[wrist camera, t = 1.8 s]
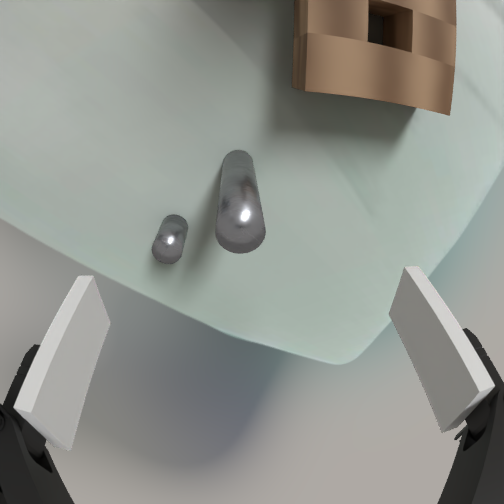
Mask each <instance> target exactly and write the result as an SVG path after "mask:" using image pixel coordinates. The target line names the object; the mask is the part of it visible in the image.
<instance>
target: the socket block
mask: <svg viewBox="0 0 504 504" xmlns="http://www.w3.org/2000/svg"><path fill="white" fill-rule="evenodd" d="M368 13H370V14H374V15H378V16H382V17H383V45H379V44H375V43H370V42H367V41H368ZM455 56H456V0H295V2H294V43H293V72H292V88H296V89H299V90H303V91H308V92H320V93H330V94H339V95H347V96H354V97H361V98H368V99H374V100H380V101H386V102H391V103H397V104H402V105H407V106H412V107H416V108H421V109H425V110H429V111H433V112H437V113H441V114H445V115H449V116H450V110H451V102H452V93H453V83H454V71H455Z"/></svg>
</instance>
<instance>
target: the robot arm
mask: <svg viewBox="0 0 504 504" xmlns="http://www.w3.org/2000/svg"><path fill="white" fill-rule="evenodd" d="M389 316H390V318H391V320H392V322H393V323H394V326H395V327H396V330H397V332H398V334H399V336H400V338H401V340H402V342H403V344H404V346H405V348H406V350H407V352H408V355H409V357H410V359H411V361H412V363H413V365H414V368H415V370H416V372H417V374H418V376H419V379H420V381H421V383H422V386H423V388H424V390H425V392H426V395H427V397H428V400H429V402H430V405H431V407H432V409H433V412H434V414H435V417H436V419H437V422H438V424H439V427H440V430H441V432H442V433H443V432H446V431H448V430H451V429H454V428H457V427H458V426H459V425H460V424H461V423H462V422H463V421H464V420H466V423H467V425H466V427H464V428H463V429H462V430H461V431H460V432H459V433H458V434H457V435H456V437H455V439H454V440H457V439H458V438H459V437H460V436H461V435H462V437H461V440H460V445H459V447H458V451H457V454H456V457H455V460H454V463H453V466H452V469H451V471H450V474H449V477H448V479H447V482H446V484H445V487H444V489H443V492H442V494H441V497H440V499H439V501H438V504H504V382H503V381H502V379H501V377H500V376H499V374H498V372H497V370H496V368H495V367H494V365H493V363H492V361H491V360H490V358H489V356H487V353H486V351H485V350H484V348H482V345H481V343H480V342H479V340H478V339H477V337H476V336H475V335H474V334H473V333H472V332H470V330H468V329H467V328H465V329H462V328H461V327H460V325H459V324H458V322H457V320H456V319H455V317H454V316H453V314H452V313H451V311H450V310H449V309H448V307H447V305H446V304H445V302H444V301H443V300H442V298H441V297H440V295H439V294H438V292H437V291H436V290H435V288H434V287H433V285H432V284H431V283H430V281H429V280H428V278H427V277H426V276H425V274H424V273H423V271H422V270H421V269H420V267H419V266H412V267H404V270H403V273H402V276H401V279H400V283H399V286H398V289H397V292H396V295H395V297H394V300H393V303H392V306H391V309H390V312H389ZM110 324H111V323H110V320H109V318H108V315H107V312H106V310H105V307H104V304H103V302H102V299H101V296H100V293H99V291H98V288H97V285H96V282H95V279H94V276H78V277H77V279H76V281H75V282H74V284H73V286H72V288H71V289H70V291H69V293H68V294H67V297H66V298H65V300H64V302H63V303H62V305H61V307H60V309H59V311H58V312H57V315H56V316H55V318H54V320H53V322H52V324H51V326H50V328H49V330H48V331H47V334H46V335H45V337H44V339H43V341H42V343H41V345H34V346H33V347H32V348H31V349H30V350H29V351H28V352H27V353H26V354H25V356H24V358H23V361H22V363H21V367H19V369H18V371H17V375H16V376H15V378H14V380H13V382H12V384H11V387H10V389H9V391H8V394H7V396H6V399H5V401H4V403H3V405H1V404H0V504H74V502H73V500H72V499H71V497H70V495H69V493H68V491H67V489H66V487H65V485H64V483H63V481H62V479H61V477H60V475H59V473H58V471H57V469H56V467H55V465H54V463H53V460H52V458H51V456H50V454H49V451H48V450H47V449H46V447H45V443H46V440H47V441H49V442H50V443H51V444H52V445H53V446H55V447H58V448H62V449H65V450H69V451H71V449H72V445H73V441H74V437H75V433H76V429H77V425H78V422H79V418H80V414H81V411H82V408H83V404H84V401H85V398H86V394H87V391H88V388H89V385H90V381H91V378H92V375H93V372H94V369H95V366H96V363H97V360H98V357H99V354H100V351H101V348H102V345H103V343H104V340H105V337H106V335H107V332H108V329H109V326H110Z"/></svg>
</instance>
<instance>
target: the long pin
mask: <svg viewBox="0 0 504 504" xmlns="http://www.w3.org/2000/svg"><path fill="white" fill-rule="evenodd" d="M215 233H216V238H217V240H218V242H219V244H220V245H221V246H222V247H223V248H224V249H226V250H228V251H230V252H233V253H248V252H251V251H253V250H255V249H256V248H258V247H259V246H260V245H261V243H262V242H263V240H264V238H265V233H266V229H265V224H264V218H263V213H262V207H261V202H260V197H259V191H258V186H257V181H256V175H255V170H254V165H253V160H252V158H251V156H250V155H249V154H248V153H247V152H245V151H242V150H234V151H232V152H230V153H228V154H227V155H226V157H225V158H224V161H223V168H222V176H221V185H220V193H219V202H218V211H217V221H216V231H215Z"/></svg>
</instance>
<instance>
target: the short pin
mask: <svg viewBox="0 0 504 504" xmlns="http://www.w3.org/2000/svg"><path fill="white" fill-rule="evenodd" d="M187 231H188V224H187V222H186V220H185V219H184V218H183V217H181V216H179V215H169V216H167V217H166V218H165V219H164V220H163V222H162V224H161V226H160V229H159V231H158V234H157V236H156V239H155V241H154V243H153V246H152V253H153V255H154V257H155V258H156V259H157V260H158V261H160V262H162V263H165V264H172V263H175V262H177V261H178V260H179V259H180V258H181V255H182V251H183V247H184V243H185V239H186V235H187Z"/></svg>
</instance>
